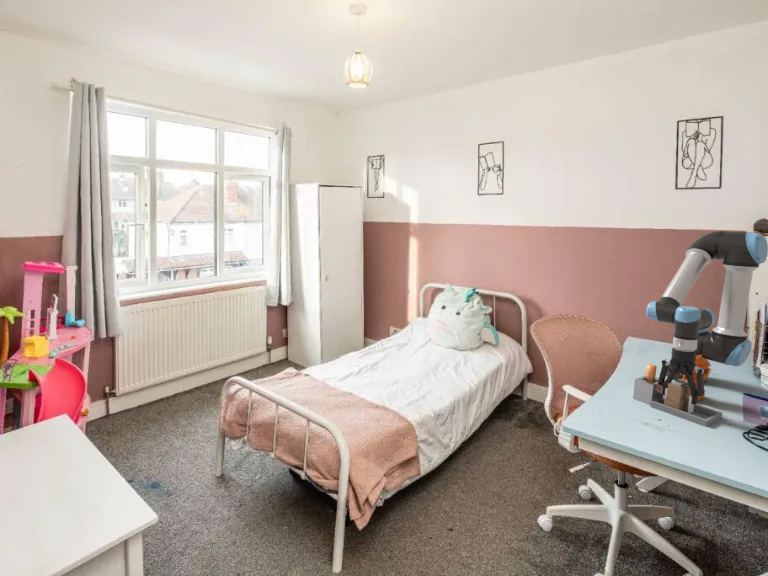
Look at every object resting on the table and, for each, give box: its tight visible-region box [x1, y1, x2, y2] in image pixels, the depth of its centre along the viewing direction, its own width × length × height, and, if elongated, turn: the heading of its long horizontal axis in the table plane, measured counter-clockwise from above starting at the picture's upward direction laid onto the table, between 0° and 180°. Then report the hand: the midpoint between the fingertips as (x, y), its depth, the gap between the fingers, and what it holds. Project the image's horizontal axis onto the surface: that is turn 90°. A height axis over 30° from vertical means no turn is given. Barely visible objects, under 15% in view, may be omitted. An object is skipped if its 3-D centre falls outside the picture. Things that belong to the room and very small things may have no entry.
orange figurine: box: [680, 355, 712, 401], centre depth 182 cm, size 11×11×18 cm
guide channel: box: [649, 401, 723, 428], centre depth 171 cm, size 12×19×2 cm, turn 33°
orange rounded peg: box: [645, 363, 657, 382], centre depth 180 cm, size 3×3×6 cm
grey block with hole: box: [632, 374, 666, 406], centre depth 182 cm, size 9×7×8 cm
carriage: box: [665, 379, 691, 412], centre depth 173 cm, size 8×4×11 cm, turn 123°
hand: (678, 407), depth 173 cm, fingers open, 8 cm apart
